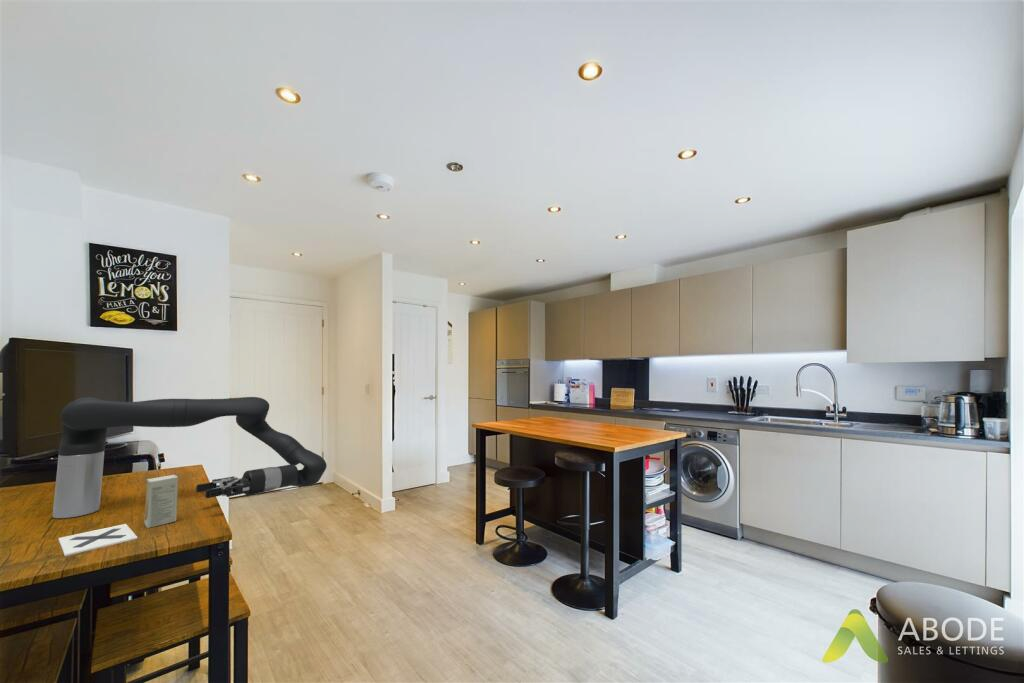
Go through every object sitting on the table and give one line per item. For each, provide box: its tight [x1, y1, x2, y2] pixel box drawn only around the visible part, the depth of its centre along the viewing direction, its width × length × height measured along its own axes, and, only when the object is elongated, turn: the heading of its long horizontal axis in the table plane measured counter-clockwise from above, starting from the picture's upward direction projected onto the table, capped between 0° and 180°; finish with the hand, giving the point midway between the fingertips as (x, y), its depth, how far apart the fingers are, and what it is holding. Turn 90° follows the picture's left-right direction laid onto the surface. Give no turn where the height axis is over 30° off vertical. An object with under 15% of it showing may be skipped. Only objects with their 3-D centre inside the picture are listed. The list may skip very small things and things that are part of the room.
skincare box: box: [143, 474, 179, 529], centre depth 109 cm, size 6×4×12 cm
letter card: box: [58, 523, 138, 557], centre depth 98 cm, size 14×12×1 cm
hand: (200, 491), depth 116 cm, fingers open, 8 cm apart
